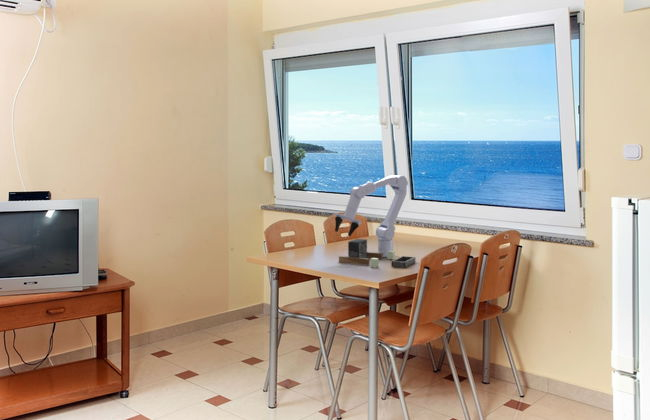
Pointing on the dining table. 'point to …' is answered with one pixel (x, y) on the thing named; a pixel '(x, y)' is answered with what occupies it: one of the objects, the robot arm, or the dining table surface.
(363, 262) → the walnut tunnel rails
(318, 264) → the dining table surface
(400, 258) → the black pit tray
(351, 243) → the small box
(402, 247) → the dining table surface
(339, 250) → the dining table surface
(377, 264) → the sage goal posts
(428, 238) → the dining table surface
